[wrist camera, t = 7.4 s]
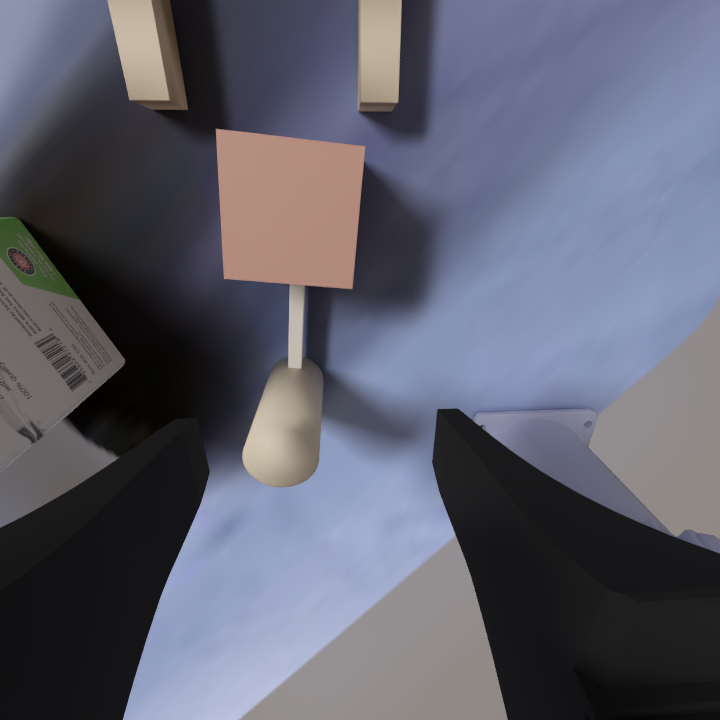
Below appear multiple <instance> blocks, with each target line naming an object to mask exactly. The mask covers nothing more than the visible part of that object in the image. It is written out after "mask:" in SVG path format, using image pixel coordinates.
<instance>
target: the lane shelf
mask: <svg viewBox="0 0 720 720" xmlns="http://www.w3.org/2000/svg"><path fill="white" fill-rule="evenodd" d="M108 5H109V9H110V14H111V18H112V23H113V27H114V32H115V36H116V41H117V45H118V50H119V54H120V59H121V63H122V68H123V72H124V77H125V81H126V86H127V90H128V95H129V100H131V101H133V102H136V103H138V104H140V105H143V106H145V107H148V108H150V109H152V110H188V106H187V100H186V94H185V88H184V82H183V76H182V70H181V64H180V58H179V52H178V46H177V40H176V34H175V28H174V22H173V16H172V10H171V4H170V0H108ZM401 9H402V0H358V111H369V112H392V110H393V109H394V108H395V106H396V105H397V104H398V96H399V67H400V38H401Z"/></svg>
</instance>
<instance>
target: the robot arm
mask: <svg viewBox="0 0 720 720" xmlns="http://www.w3.org/2000/svg"><path fill="white" fill-rule="evenodd" d="M596 420H597V413H596V412H595V411H594V410H593V409H589V408H587V409H559V410H530V411H501V412H481V413H478V414H476V415H475V416H474V419H473V420H471V419H470V418H469V417H468V416H467V415H465V414H464V413H463V412H461V411H460V410H459V409H438V411H437V421H436V431H435V441H434V451H433V461H432V463H433V467H434V471H435V476H436V480H437V484H438V488H439V492H440V495H441V497H442V500H443V503H444V505H445V508H446V511H447V513H448V516H449V518H450V521H451V524H452V526H453V529H454V531H455V534H456V537H457V539H458V542H459V544H460V547H461V550H462V552H463V555H464V557H465V560H466V563H467V566H468V569H469V572H470V575H471V577H472V581H473V585H474V588H475V592H476V596H477V599H478V603H479V606H480V610H481V613H482V617H483V621H484V625H485V629H486V633H487V636H488V640H489V644H490V647H491V652H492V655H493V659H494V663H495V668H496V672H497V676H498V680H499V685H500V689H501V693H502V697H503V701H504V705H505V709H506V714H507V718H508V720H720V540H719V539H718V538H717V537H715V536H713V535H707V534H702V533H698V534H697V533H696V532H694V531H692V530H685V531H684V532H683V533H682V534H681V535H679V536H678V537H675V536H674V535H672V534H671V533H670V531H669V530H668V529H667V528H666V527H665V526H664V525H663V524H662V523H661V522H660V521H659V520H658V519H657V518H656V517H655V516H654V515H653V514H652V513H651V512H650V511H649V510H648V509H647V508H646V507H645V506H644V505H643V504H642V503H641V501H639V499H638V498H637V497H636V496H635V495H634V494H633V493H632V492H631V491H630V490H629V489H628V488H627V487H626V486H625V485H624V484H623V483H622V482H621V481H620V480H619V479H618V478H617V477H616V476H615V475H614V474H613V473H612V471H611V470H610V469H608V467H607V466H606V465H605V464H604V463H603V462H602V461H601V460H600V459H599V458H598V457H597V456H596V455H595V454H594V453H593V452H592V451H591V450H590V449H589V448H588V445H589V441H590V439H591V435H592V432H593V429H594V426H595V423H596ZM587 421H588V422H587ZM586 422H587V423H586ZM585 423H586V424H585ZM480 425H484V426H483V427H482V428H481V427H480ZM209 473H210V471H209V467H208V462H207V458H206V454H205V449H204V445H203V440H202V436H201V432H200V427H199V423H198V418H183V419H175V420H174V421H172V422H170V423H169V424H167V425H166V426H164V427H163V428H161V429H160V430H158V431H157V432H155V433H154V434H153V435H151V436H150V437H148V438H147V439H146V440H144V441H143V442H141V443H140V444H139V445H137V446H136V447H134V448H133V449H131V450H130V451H129V452H127V453H126V454H124V455H123V456H121V457H120V458H119V459H117V460H116V461H114V462H113V463H111V464H110V465H108V466H107V467H105V468H104V469H102V470H101V471H99V472H98V473H96V474H95V475H93V476H91V477H90V478H88V479H87V480H85V481H84V482H82V483H81V484H79V485H78V486H76V487H74V488H73V489H71V490H69V491H68V492H66V493H64V494H63V495H61V496H59V497H57V498H56V499H54V500H52V501H51V502H49V503H47V504H45V505H43V506H42V507H40V508H38V509H36V510H34V511H33V512H31V513H29V514H27V515H25V516H23V517H22V518H19V519H17V520H15V521H13V522H11V523H9V524H7V525H5V526H3V527H1V528H0V720H123V717H124V713H125V710H126V706H127V703H128V699H129V695H130V692H131V688H132V685H133V681H134V678H135V675H136V671H137V668H138V665H139V662H140V659H141V655H142V652H143V649H144V646H145V642H146V639H147V636H148V633H149V630H150V627H151V624H152V621H153V618H154V615H155V612H156V609H157V606H158V603H159V600H160V597H161V594H162V592H163V589H164V587H165V584H166V582H167V579H168V577H169V574H170V572H171V570H172V568H173V565H174V563H175V561H176V559H177V556H178V554H179V552H180V550H181V547H182V545H183V543H184V541H185V538H186V536H187V534H188V532H189V529H190V527H191V525H192V523H193V520H194V518H195V516H196V513H197V511H198V509H199V506H200V504H201V501H202V497H203V494H204V491H205V487H206V484H207V480H208V476H209Z"/></svg>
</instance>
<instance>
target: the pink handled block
mask: <svg viewBox="0 0 720 720" xmlns="http://www.w3.org/2000/svg"><path fill="white" fill-rule="evenodd" d="M216 140H217V158H218V176H219V194H220V213H221V231H222V249H223V267H224V279H235V280H247V281H259V282H271V283H283V284H290V298H289V352H288V357H286V358H284V359H282V360H280V361H279V362H277V363H276V364H275V365H274V367H273V368H272V370H271V372H270V375H269V378H268V381H267V384H266V386H265V389H264V392H263V395H262V398H261V401H260V403H259V406H258V409H257V412H256V415H255V418H254V420H253V423H252V426H251V429H250V432H249V434H248V437H247V440H246V443H245V446H244V449H243V453H242V458H243V463H244V466H245V468H246V470H247V471H248V473H249V474H250V475H251V476H252V477H253V478H255V479H256V480H258V481H259V482H261V483H264V484H266V485H269V486H274V487H291V486H295V485H298V484H300V483H303V482H304V481H306V480H307V479H309V478H310V477H311V476H312V475H313V474H314V472H315V471H316V469H317V466H318V462H319V449H320V433H321V417H322V401H323V385H324V378H323V374H322V371H321V370H320V368H319V367H318V366H317V364H315V363H314V362H313V361H311V360H309V359H307V358H305V357H303V332H304V304H305V285H308V286H320V287H332V288H344V289H352V288H353V277H354V266H355V254H356V243H357V232H358V221H359V210H360V199H361V188H362V177H363V166H364V155H365V146H357V145H348V144H340V143H331V142H323V141H315V140H306V139H298V138H289V137H281V136H272V135H264V134H256V133H247V132H239V131H230V130H222V129H216Z"/></svg>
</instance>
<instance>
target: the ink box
mask: <svg viewBox="0 0 720 720" xmlns="http://www.w3.org/2000/svg"><path fill="white" fill-rule="evenodd" d="M124 364H125V359H124V358H123V356H122V355H121V354H120V352H119V351H118V350H117V348H116V347H115V346H114V344H113V343H112V342H111V340H110V339H109V338H108V336H107V335H106V334H105V332H104V331H103V330H102V328H101V327H100V326H99V324H98V323H97V322H96V321H95V319H94V318H93V317H92V315H91V314H90V313H89V311H88V310H87V309H86V307H85V306H84V305H83V303H82V302H81V300H80V299H79V298H78V296H77V295H76V294H75V292H74V291H73V290H72V289H71V287H70V286H69V285H68V283H67V282H66V281H65V279H64V278H63V277H62V275H61V274H60V273H59V271H58V270H57V269H56V267H55V266H54V265H53V263H52V262H51V261H50V259H49V258H48V257H47V255H46V254H45V253H44V251H43V250H42V248H41V247H40V246H39V245H38V243H37V242H36V240H35V239H34V238H33V237H32V235H31V234H30V233H29V231H28V230H27V229H26V228H25V226H24V225H23V223H22V222H21V221H20V220H19V219H17V218H14V217H5V218H0V473H1V472H2V471H3V470H4V469H5V468H7V467H8V466H9V465H10V464H11V463H12V462H14V461H15V460H16V459H17V458H18V457H19V456H21V455H22V454H23V453H24V452H25V451H26V450H28V449H29V448H30V447H31V446H32V445H33V444H34V443H36V442H37V441H38V440H39V439H40V438H41V437H43V436H44V435H45V434H46V433H47V432H48V431H50V430H51V429H52V428H53V427H54V426H55V425H56V424H57V423H59V422H60V421H61V420H62V419H63V418H64V417H66V416H67V415H68V414H69V413H70V412H72V411H73V410H74V409H75V408H76V407H77V406H78V405H79V404H80V403H82V402H83V401H84V400H85V399H86V398H87V397H88V396H90V395H91V394H92V393H93V392H94V391H95V390H97V389H98V388H99V387H100V386H101V385H102V384H104V383H105V382H106V381H107V380H108V379H109V378H110V377H111V376H112V375H114V374H115V373H116V372H117V371H118V370H119V369H120V368H121V367H123V365H124Z"/></svg>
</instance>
